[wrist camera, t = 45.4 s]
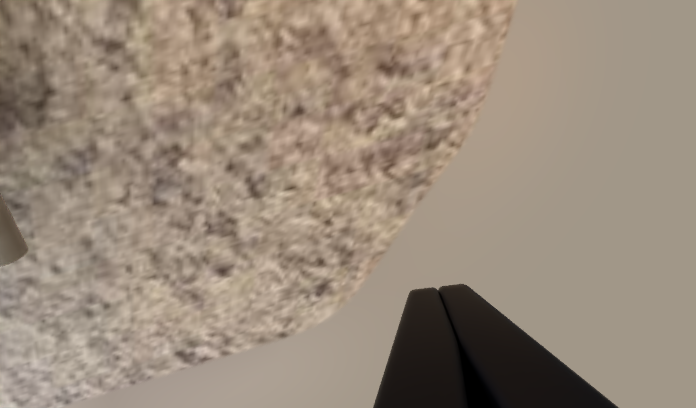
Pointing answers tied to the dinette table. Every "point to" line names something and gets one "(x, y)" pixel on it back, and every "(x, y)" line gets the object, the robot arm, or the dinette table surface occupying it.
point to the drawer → (10, 237)
